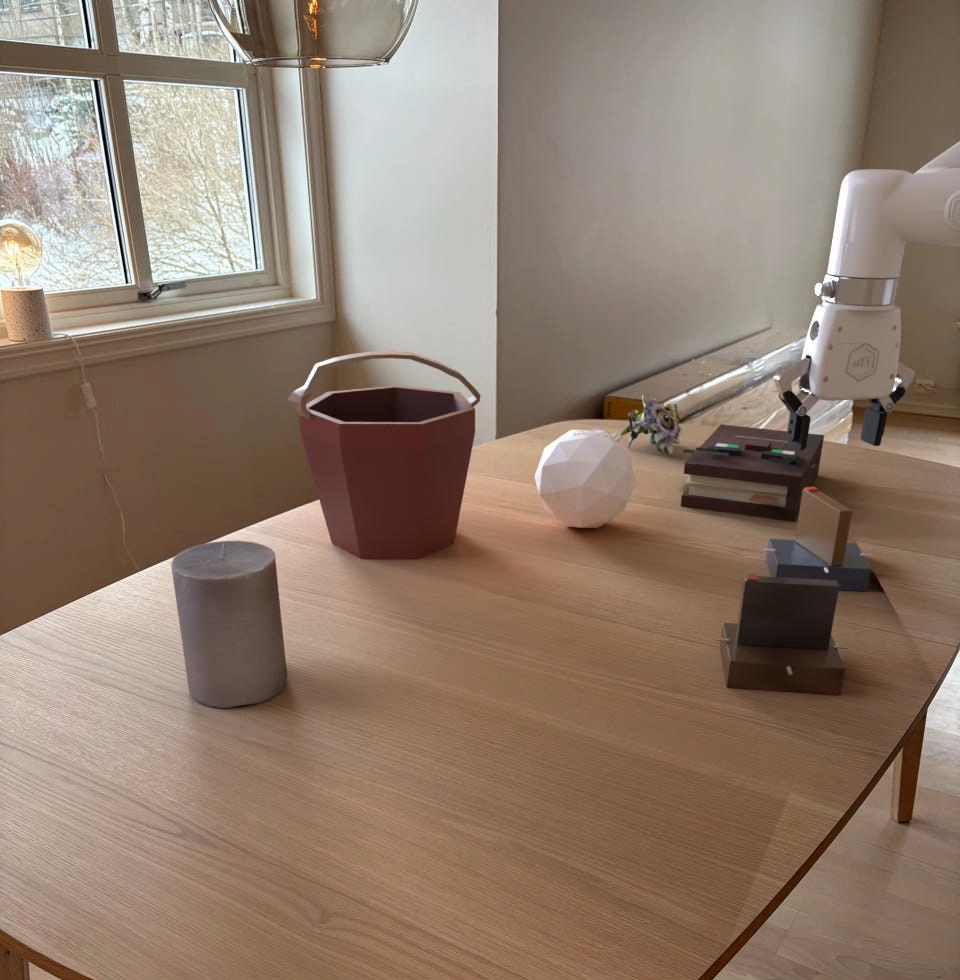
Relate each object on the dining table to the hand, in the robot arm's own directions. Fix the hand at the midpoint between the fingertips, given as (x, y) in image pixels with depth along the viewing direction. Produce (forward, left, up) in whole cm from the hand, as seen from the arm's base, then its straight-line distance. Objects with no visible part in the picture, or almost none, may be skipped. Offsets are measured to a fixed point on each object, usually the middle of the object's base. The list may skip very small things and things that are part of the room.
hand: (833, 445), depth 116 cm
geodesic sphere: (+29, -16, -17) cm, 38 cm away
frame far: (-1, -1, -14) cm, 14 cm away
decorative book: (+3, -36, -17) cm, 40 cm away
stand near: (+7, +26, -17) cm, 32 cm away
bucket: (+55, -7, -17) cm, 59 cm away
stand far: (-1, -1, -17) cm, 17 cm away
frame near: (+7, +26, -14) cm, 30 cm away
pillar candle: (+61, +37, -17) cm, 74 cm away
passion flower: (+19, -57, -17) cm, 63 cm away
